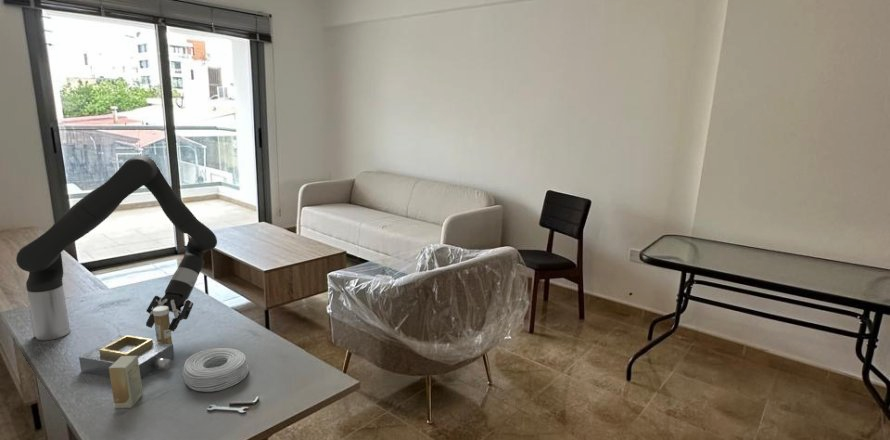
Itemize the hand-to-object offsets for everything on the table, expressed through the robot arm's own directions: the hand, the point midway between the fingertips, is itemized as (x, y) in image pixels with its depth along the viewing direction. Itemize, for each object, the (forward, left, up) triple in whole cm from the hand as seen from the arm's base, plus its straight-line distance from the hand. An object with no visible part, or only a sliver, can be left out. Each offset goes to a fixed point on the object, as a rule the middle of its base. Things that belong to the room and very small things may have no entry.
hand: (159, 328), depth 156 cm
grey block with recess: (+1, -12, -7) cm, 14 cm away
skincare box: (+14, -27, -7) cm, 31 cm away
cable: (+28, -10, -7) cm, 31 cm away
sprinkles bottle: (0, +1, -7) cm, 7 cm away
